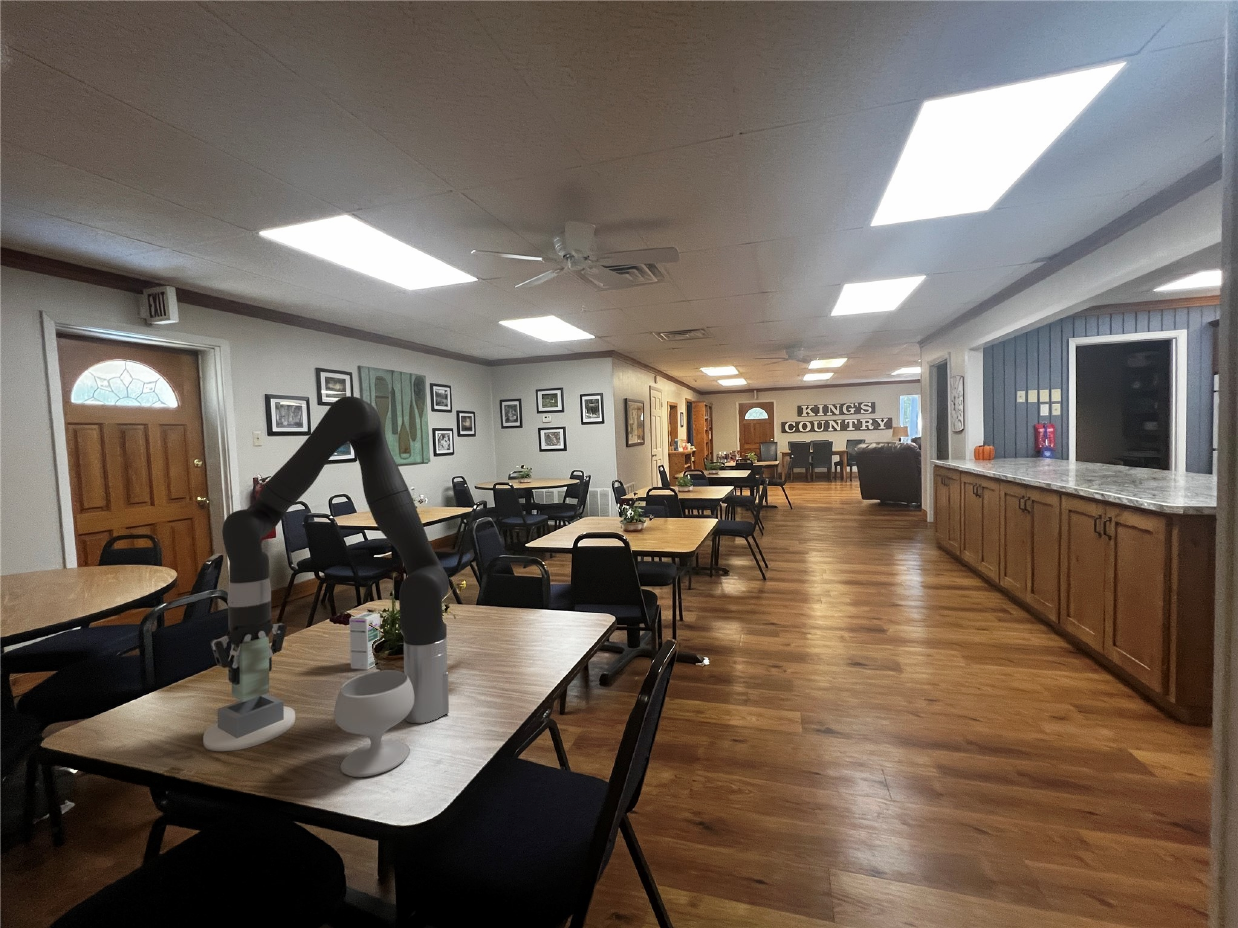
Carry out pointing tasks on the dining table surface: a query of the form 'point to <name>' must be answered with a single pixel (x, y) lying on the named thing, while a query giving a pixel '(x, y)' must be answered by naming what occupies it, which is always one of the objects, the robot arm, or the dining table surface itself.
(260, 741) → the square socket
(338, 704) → the chalice
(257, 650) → the square peg
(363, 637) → the syrup box
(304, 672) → the dining table surface
